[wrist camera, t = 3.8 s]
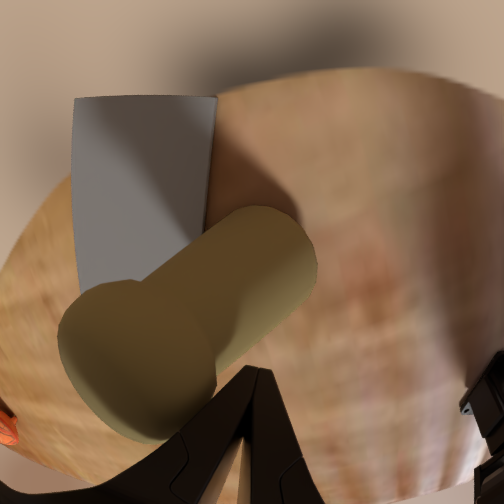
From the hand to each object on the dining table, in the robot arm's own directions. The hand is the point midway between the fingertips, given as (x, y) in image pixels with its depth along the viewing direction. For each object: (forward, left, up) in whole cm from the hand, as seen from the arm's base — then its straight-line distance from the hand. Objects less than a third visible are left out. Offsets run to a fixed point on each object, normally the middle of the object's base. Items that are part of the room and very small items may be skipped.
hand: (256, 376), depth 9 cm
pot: (+39, +38, -9) cm, 55 cm away
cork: (+1, 0, -8) cm, 8 cm away
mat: (+9, 0, -9) cm, 13 cm away
